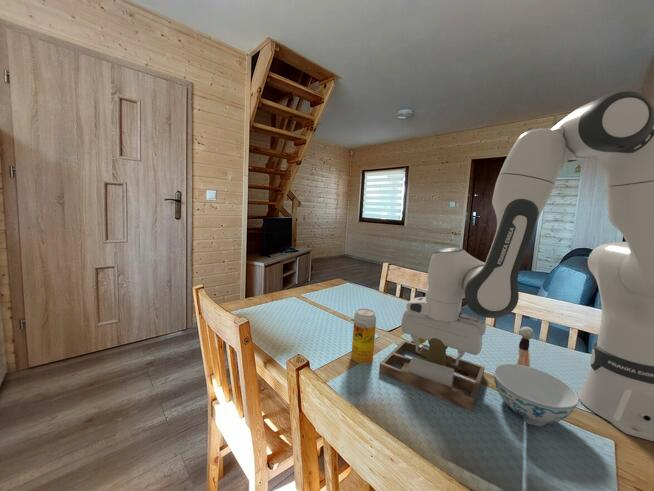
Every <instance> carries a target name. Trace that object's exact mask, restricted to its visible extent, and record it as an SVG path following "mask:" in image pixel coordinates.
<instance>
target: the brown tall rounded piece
mask: <svg viewBox="0 0 654 491" xmlns="http://www.w3.org/2000/svg"><path fill="white" fill-rule="evenodd" d="M427 342H428V343H427V344H428V345H429V347H428V348H429V350H428V354H427V357H425V361H429V362H432V363H435V364H439V365H442V366H445V367H447V364H446V354H447V349H448V348H449V347H447V346H445V345H444V344H443V342H442V341H441V340H439V339H436V338H432V339H430V340H429V341H428V340H427Z"/></svg>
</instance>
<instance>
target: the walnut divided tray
mask: <svg viewBox="0 0 654 491" xmlns="http://www.w3.org/2000/svg"><path fill="white" fill-rule="evenodd" d="M428 350H429V347H427V346H423V351H422V353H420V352H417V351H416V345H415V343H414V342H411V341H408V340H405V339H404V340H403V341H401V343H399V344H398V345H397V346H396V347H395V348H394V349H393V350H392V351H391V352H390V353H389V354H388V355H387V356H386V357H385V358H384V359H383V360H381V362H379V369H378V370H379V371H378V372H379V374H382V375H384V376H386V377H389V378H391V379H394V380H395V381H398V382H401V383H403V384H405V385H408V386H411V387H413V388H415V389H418V390H420V391H422V392H425V393H427V394H429V395H431V396H434V397H436V398H438V399H440V400H444V401H446V402H448V403H450V404H453V405H455V406H457V407H460V408H463V409H465V410H467V411H469V412H473V409H474V406H475V402H476V400H477V397H478V394H479V391H480V388H481V385H482V382H483V378H484V375H485V368H486V367H485V366H483V365H481V364H478V363H475V362H472V361H469V360H465V359H463V358H460V359H459V364H458V366H457V365H454V364H452V357H453V356H454V355H451V354H447V353H446V366H448V367H449V366H450V367H451V368H452V367H453V368H455V369H458V370H461V371H463V372H464V371H465V372H467V373H470V374H473V375H475V376H477V377H476V379H475V381H472V380H470V379H467V378H465V377H462V376H459V375H457V374H454V376H453V378H454V382H453V387H454V388H457V389H460V390H463V391H464V392H467V393H469V394H470V396H468V395H466V394H461V393H458V392H456V391H453V390H451V389H448V388H446V387H443V386H441V385H438V384H436V383H433V382H431V381H428V380H426V379H423V378H420V377H418V376H415V375H413V374H410V373H408V372H405V371H403V370H401V368H402V367H403V365H404V363H408V364H409V363H410V361H411V359H412V358H410V357H407V356H404V355H402V354H403V353H404V352H405V351H407V352H410V353H412V354H416V355H418V356H421V357H425V358H427V354H428ZM392 364H395V365H397V366H400V367H401V368H400V369H399V368H398V367H395V366H392Z"/></svg>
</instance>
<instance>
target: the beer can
mask: <svg viewBox="0 0 654 491" xmlns="http://www.w3.org/2000/svg"><path fill="white" fill-rule="evenodd" d="M353 314H354V316H353V330H352V341H351V342H352V344H351V357H350V358H351V359H352V361H354V362H356V363H358V364H370V363H372V362H373V360H374V350H375V340H376V339H375V337H376V336H375V335H376V326H377V325H376V324H377V316H376V312H375V311H374V310H372V309H368V308H358V309H356V311H355V313H353Z"/></svg>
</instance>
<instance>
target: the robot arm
mask: <svg viewBox="0 0 654 491" xmlns="http://www.w3.org/2000/svg"><path fill="white" fill-rule="evenodd" d="M507 154H508V155H507V156H506V158H505V159H504V162H503V164H502V167H501V169H500V171H499V174H498V176H497V179H496V182H495V186H494V189H493V193H492V194H493V195H492V200H491V204H492V207H493V210H494V213H495V217H496V231H495V235H494V237H493V241H492V244H491V247H490V249H489V250H488V251H489V252H488V254H487V257H486V259H485V262H484V261H481V260H479V259H478V258H476V257H474V256H472V255H471V254H470V253H468V252H467V251H466V250H465V249H463V248H461V247H444V248H443V247H442V248H440V249H437V250H436V251H434V253H432V255H431V258H430V261H429V265H428V271H427V277H426V278H427V286H428V287H427V290H426V293H425V296H421V297H418V296H417V297H414V298H411V299H410V300H409V301H408V302H407V303H406V310H405V311H404V312H403V314H402V318H401V324H400V329H401V332H402V333H404V334H406V335H410V336H411V335H412V336H413V339H412V341H413V343H414V344H415V345H416V351H417V352H420V353H422V351H423V347H424V345H423V344H420V341H419V338H422V339H425V340H426V341H427V342H428V341H429V340H430V339H432V338H436V339H439V340H441V341H442V342H443V344H444V345H445V346H447V347H448V348H451V349H453V350H456V351H457V355H454V354H453V355H452V356H453V357H452V364H454V365H457V366H458V364H459V359H462V357H464V355H465V353H466V354H470V355H474V356H477V355H479V354H480V353H481V351H482V347H483V335H485V333H486V328H487V327H486V326H487V325H486V322H485V321H483V320H482V319H481V318H480V317H483V318H487V319H499V318H503V317H505V316H508V315H509V314H511V313H512V312H513V311H514V310H515V309H516V307H517V305H518V303H519V296H520V295H519V284H518V283H519V281H518V278H519V274H520V270H521V267H522V265H523V262H524V259H525V256H526V254H527V251H528V248H529V245H530V241H531V239H532V237H533V233H534V232H535V227H536V225H537V223H538V221H539V219H540V216H541V213H542V212H543V210H544V208H545V207H546V204H547V203H548V200H549V198H550V196H551V194H552V192H553V189H554V187H555V185H556V182H557V180H558V177H559V175H560V171H562V168H563V167H564V166H565V165H566V163H571V162H577V161H581V160H588V159H594V158H597V159H598V160H599V162H600V163H601V164H602V166H603V168H604V171H605V192H606V205H607V216H608V217H607V218H608V220H609V222H610V224H611V225H612V226H613V227H615V228H616V229H617V230H618V231H619V232H620V233H621V235H622V237H623V239H624V241H617V242H616V241H615V242H607V243H603V244H601V245H598V246H596V247H595V248H594V249H592V251H591V252H590V253H589V256H588V258H587V268H588V269H589V271H590V273H591V274H592V276H594V277H593V278H594V279H595V281H596V283H597V287H598V293H599V296H600V303H601V304H600V305H601V319H600V325H599V329H598V330H599V332H598V337H597V342H595V343H594V345H593V348H592V350H591V353H590V354H591V355H590V361H589V362H590V368H589V372H588V374H587V377H586V379H585V381H584V382H583V384H582V386H581V388H580V389H579V390H578V392H577V393H576V394H577V396H578V399H579V401H580V402H581V403H582V405H584V406H585V407H586V408H588V409H589V410H590V411H592V412H593V413H595V414H596V415H598V416H600V417H602V418H603V419H605V420H607V421H608V422H610V423H611V424H612V425H613V426H615V427H616V428H617V429H618V430H620V431H621V432H623V433H625V434H627V435H629V436H633V437H636V438H639V439H644V440H647V441H650V442H654V106H653V104H652V102H651V101H650V100H649V99H648V98H647V97H646V96H645V95H643V94H642V93H640V92H636V91H632V90H631V91H618V92H613V93H610V94H605V95H603V96H601V97H599V98H596V99H595V100H594V101H593V100H592V101H590V102H587V103H586V104H584V105H582V106H579V107H578V108H576V109H574V111H572V112H570V113H569V114H568V115H566V116H565V117H563V118H561V119H559V120H558V121H556V122H555V123H554V124H553V125H551V126H550V127H549V128H534V129H531V130H528V131H525V132H524V133H522V134H521V135H520V136H519V137H518V138H517V139H516V140H515V143H514V144H513V146H512V147H511V149H510V150H509V152H508V153H507ZM463 299H465V304H466V306H468V308H469V309H470V310H471V311H472V312H473V313H474V314H477V316H473V315H469V314H466V313H462V312H461V311H462V305H463V304H462V302H463ZM478 316H480V317H478Z"/></svg>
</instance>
